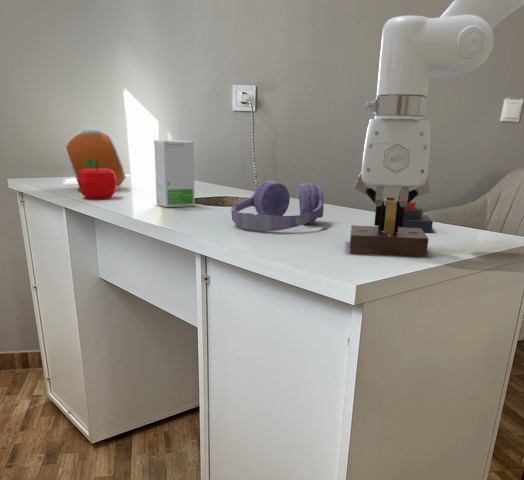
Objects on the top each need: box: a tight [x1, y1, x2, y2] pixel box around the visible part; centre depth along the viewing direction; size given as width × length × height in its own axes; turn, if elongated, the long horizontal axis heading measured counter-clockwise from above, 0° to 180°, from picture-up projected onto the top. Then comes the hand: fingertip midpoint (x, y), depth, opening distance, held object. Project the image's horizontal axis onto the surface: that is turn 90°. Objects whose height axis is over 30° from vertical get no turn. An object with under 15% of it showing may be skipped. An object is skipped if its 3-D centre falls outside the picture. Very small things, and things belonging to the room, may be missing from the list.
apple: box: [77, 160, 117, 200], centre depth 152 cm, size 11×11×10 cm
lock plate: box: [349, 225, 429, 258], centre depth 93 cm, size 12×10×3 cm
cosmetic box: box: [153, 139, 196, 208], centre depth 138 cm, size 8×7×16 cm
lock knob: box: [383, 196, 397, 234], centre depth 91 cm, size 6×2×5 cm, turn 172°
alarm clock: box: [64, 129, 126, 188], centre depth 172 cm, size 19×18×17 cm
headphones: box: [230, 180, 324, 233], centre depth 114 cm, size 18×8×20 cm
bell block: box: [398, 206, 434, 233], centre depth 114 cm, size 10×9×4 cm
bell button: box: [404, 200, 417, 210], centre depth 113 cm, size 4×4×2 cm
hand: (387, 229), depth 92 cm, fingers closed, pressing on lock knob
